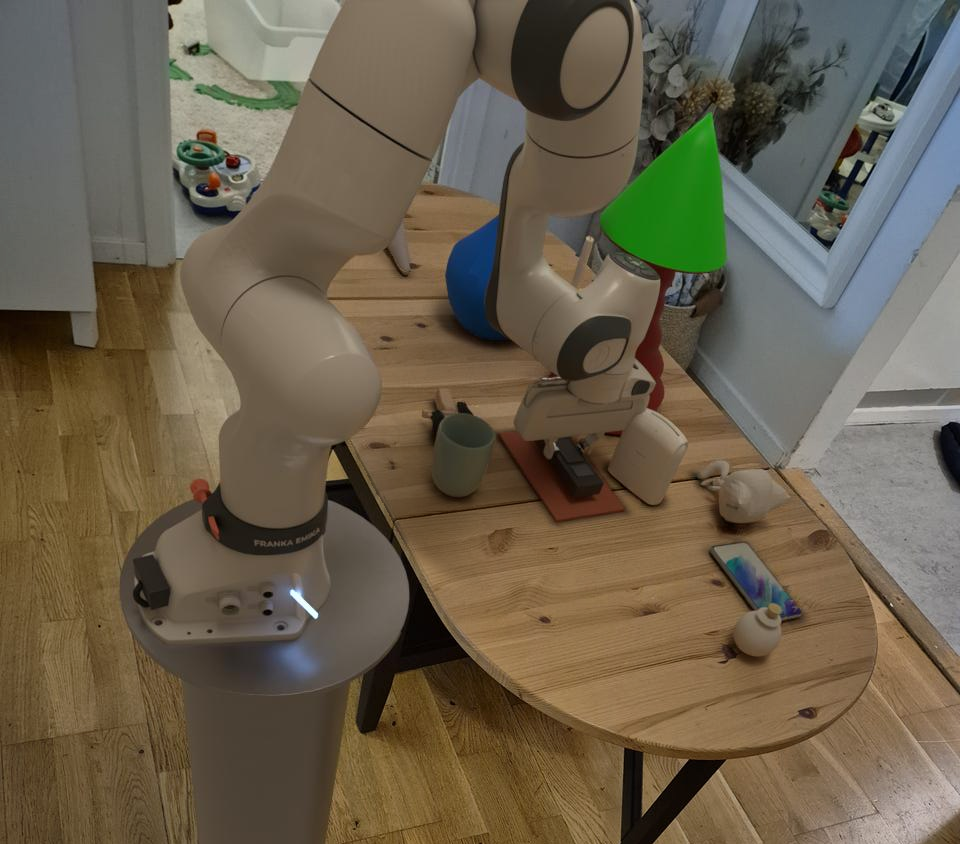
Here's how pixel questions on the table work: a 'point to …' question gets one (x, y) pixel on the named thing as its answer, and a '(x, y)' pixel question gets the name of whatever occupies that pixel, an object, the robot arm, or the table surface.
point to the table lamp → (671, 226)
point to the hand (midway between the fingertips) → (566, 454)
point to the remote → (573, 468)
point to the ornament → (759, 630)
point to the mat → (556, 483)
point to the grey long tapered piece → (400, 250)
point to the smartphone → (754, 578)
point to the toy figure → (444, 408)
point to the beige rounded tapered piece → (744, 492)
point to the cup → (461, 453)
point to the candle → (582, 262)
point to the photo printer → (648, 456)
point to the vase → (472, 279)
